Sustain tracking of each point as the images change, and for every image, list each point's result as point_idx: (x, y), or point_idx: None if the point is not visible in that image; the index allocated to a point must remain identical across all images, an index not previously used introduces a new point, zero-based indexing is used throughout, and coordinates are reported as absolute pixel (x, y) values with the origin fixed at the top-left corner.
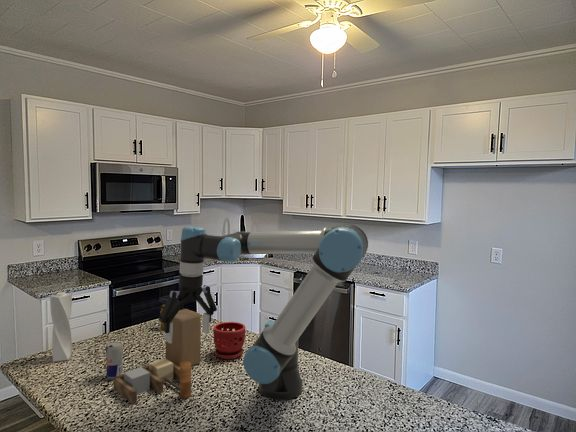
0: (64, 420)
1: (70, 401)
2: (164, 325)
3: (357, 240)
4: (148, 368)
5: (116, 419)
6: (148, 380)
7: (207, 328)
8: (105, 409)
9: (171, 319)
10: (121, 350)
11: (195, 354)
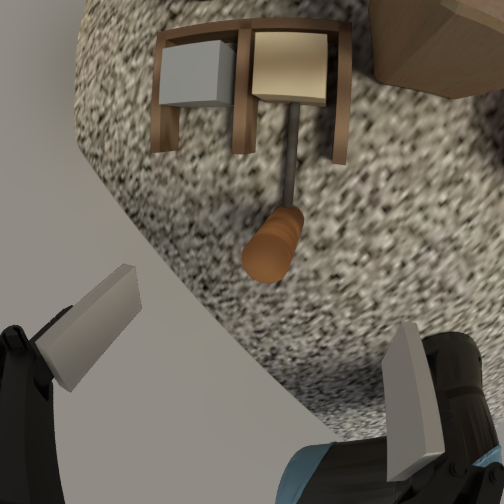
0: (76, 115)
1: (101, 49)
2: (41, 335)
3: None
4: (268, 29)
5: (127, 179)
6: (222, 103)
7: (387, 390)
8: (125, 124)
9: (46, 404)
10: None
11: (451, 90)
